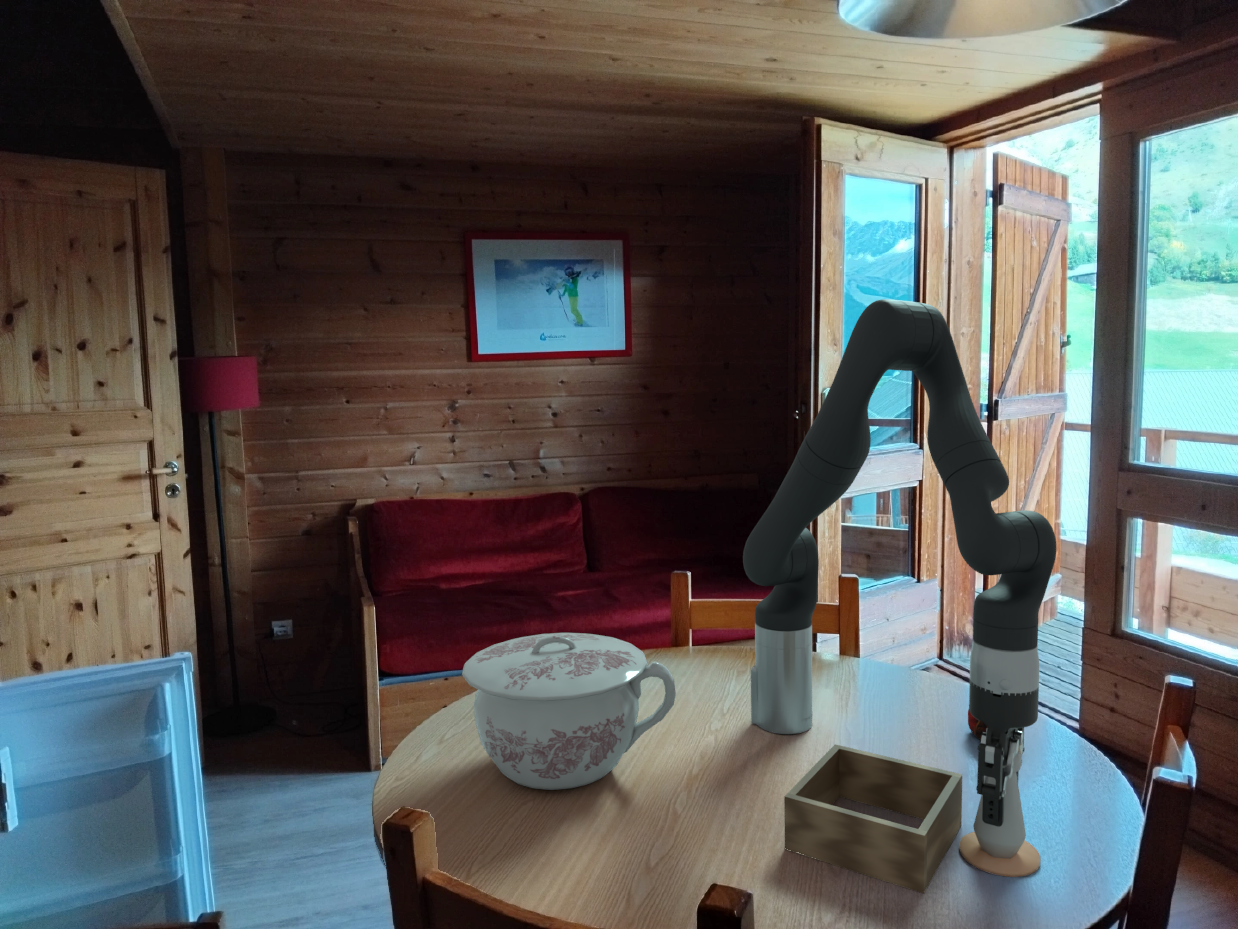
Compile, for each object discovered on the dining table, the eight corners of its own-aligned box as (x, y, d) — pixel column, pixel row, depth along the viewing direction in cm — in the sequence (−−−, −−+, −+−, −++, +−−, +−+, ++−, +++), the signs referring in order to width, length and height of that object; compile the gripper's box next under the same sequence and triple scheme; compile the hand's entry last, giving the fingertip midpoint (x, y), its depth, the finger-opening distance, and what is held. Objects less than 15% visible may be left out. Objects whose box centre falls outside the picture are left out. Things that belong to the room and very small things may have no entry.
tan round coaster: (951, 862, 106) (951, 857, 106) (969, 828, 113) (969, 823, 113) (1032, 885, 101) (1032, 880, 101) (1046, 848, 108) (1046, 843, 108)
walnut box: (784, 849, 109) (784, 796, 109) (834, 791, 123) (834, 744, 122) (923, 893, 100) (924, 835, 99) (961, 825, 114) (962, 774, 113)
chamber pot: (430, 774, 132) (422, 641, 130) (562, 715, 152) (558, 599, 150) (557, 839, 113) (551, 685, 111) (690, 763, 133) (687, 631, 131)
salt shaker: (1030, 865, 104) (1035, 761, 102) (979, 861, 105) (982, 758, 103) (1017, 838, 109) (1021, 739, 108) (968, 834, 110) (972, 736, 109)
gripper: (984, 655, 112) (981, 776, 114) (955, 692, 100) (953, 826, 102) (1048, 666, 108) (1044, 791, 110) (1026, 705, 96) (1022, 845, 98)
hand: (1000, 807), depth 106 cm, fingers open, 8 cm apart
